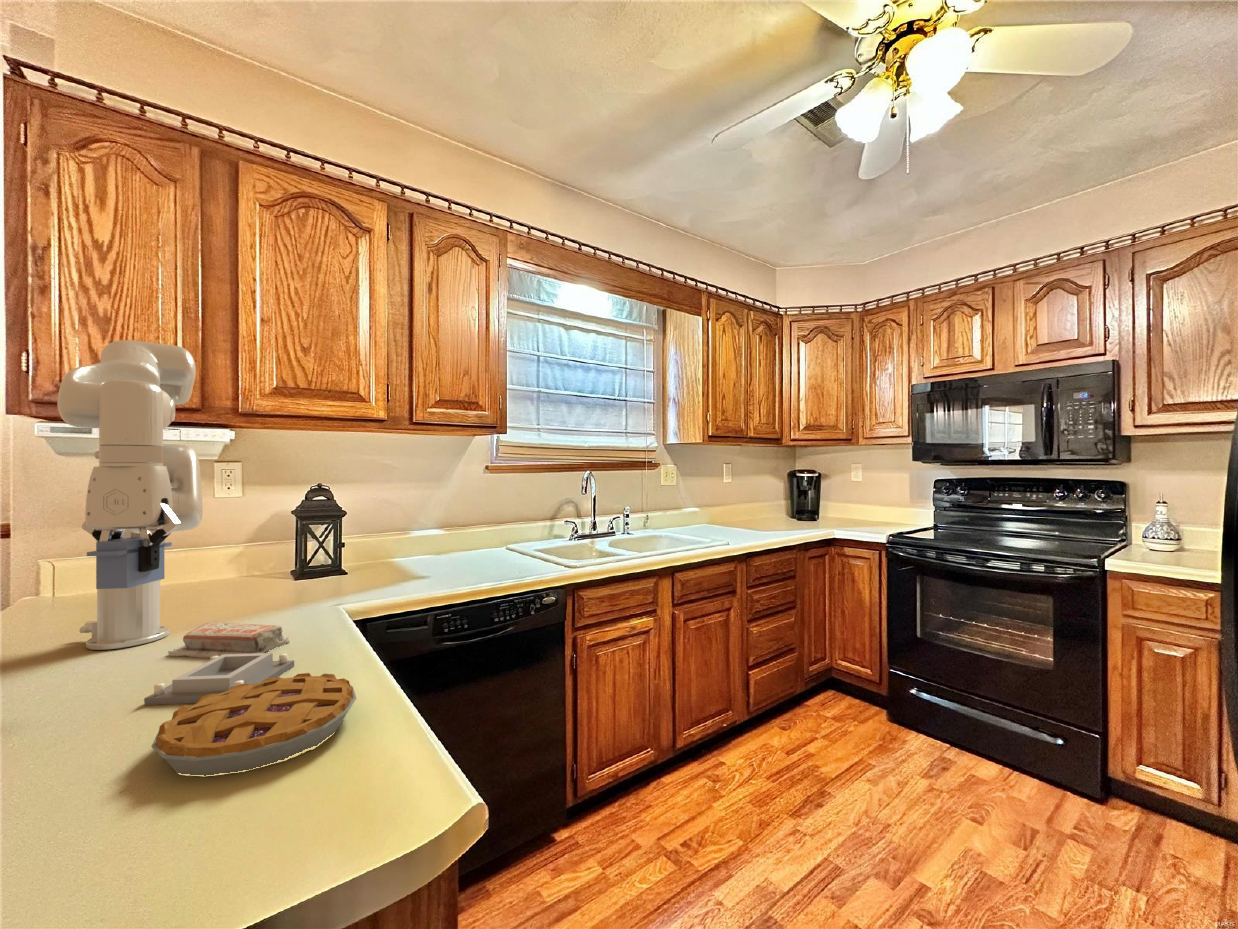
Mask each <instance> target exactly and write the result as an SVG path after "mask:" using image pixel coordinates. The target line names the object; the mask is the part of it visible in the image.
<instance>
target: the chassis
mask: <svg viewBox="0 0 1238 929" xmlns="http://www.w3.org/2000/svg"><path fill="white" fill-rule="evenodd" d="M273 655H274V654H273V652H267V653H252V654H223V655H221V656H212V657H210V658H209V661H207V662H205V663H203V664H201V665H199V666H197V667H195V668H193V669H191V670H189V671H187V672H185V673H183V674H181V675H179V676H177V677H175V678H173V679H172V681H171V682H172V683H171V684H169V685H165V683H164V682H161V683H160V682H159V683H156V684H154V685H153V689H154V690H153V693H152V694H150V695H148V696H146V697H144V699H143V700H144V701H143V702H144V706H153V705H176V704H179V705H180V704H181V705H183V704H196V703H197V701H198V699H199V697H201V696H205V695H209V694H220V693H223V692H226V691H228V690H230V688H231V687H232V686H236V685H240V684H244V683H245V684H248V685H250V684H255V683H260V682H262V681H264V680H266V679H270V678H276V677H278V676H279V677H280V676H282V675H283V674H285V673H286V672H287V671H289V670H290V668H291V667H292V668H294V667H295V660H288V653H281V654H279V655H278V660H273V659H274V658H273ZM292 668H291V669H292ZM285 671H286V672H285ZM284 672H285V673H284ZM281 674H282V675H281ZM165 686H166V687H165Z"/></svg>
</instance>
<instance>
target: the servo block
mask: <svg viewBox="0 0 1238 929" xmlns="http://www.w3.org/2000/svg"><path fill="white" fill-rule="evenodd" d="M95 547H96V548H95V550H93V551H86V557H95V558H96V560H95V562H96V563H95V564H96V565H95V567H96V568H95V571H96V572H95V573H96V574H95V579H96V580H95V581H96V582H95V586H96V589H95V590H97V589H117V588H130V587H134V586H138V585H142V584H146V583H149V582H153V581H157V580H160V581H161V580H165V548H167V547H173V542H171V541H169V542H166V541H164V543H163V544H160V561H159V568H158V569H155V570H150V571H146V572H140V571H139V547H143V544H142V541H141V537H140V533H139V532H137V533H131V537H129V538H122V539H115V540H108V541H101V542H96V541H95Z"/></svg>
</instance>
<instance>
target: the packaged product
mask: <svg viewBox="0 0 1238 929" xmlns="http://www.w3.org/2000/svg"><path fill="white" fill-rule="evenodd" d="M182 642H183V643H184V645H182V646H179V647H176V648H174V649H173V650H168V651H167V653H168V654H167V655H168V656H169V657H193V658H206V657H212V656H221V655H223V654H252V653H265V652H267V651H269V650H272V649H274V648H276V647H279V648H280V646H281V647H283V646H285V645H284V644H286V643H288V644H290V637H289V636H286V637H285V636H283V628H282V626H280V625H272V624H271V625H270V624H269V625H268V624H254V623H253V624H250V623H234V622H233V623H231V622H230V623H226V622H210V623H209V622H206V623H203V624H200V625H199V626H197V627H196V628H194V629H193V630H191V631H189V632H187V633H186V634H185V635H184V636H183V638H182ZM282 645H283V646H282ZM286 645H287V644H286ZM276 649H277V648H276ZM274 650H275V649H274ZM272 651H273V650H272ZM269 652H270V651H269ZM267 653H268V652H267Z"/></svg>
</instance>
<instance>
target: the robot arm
mask: <svg viewBox="0 0 1238 929" xmlns="http://www.w3.org/2000/svg"><path fill="white" fill-rule="evenodd" d="M99 360H100V361H99V362H97V363H92V364H86V365H82V366H78V367H76V368H73V369H71V370H69V371H68V372H67V373H66V374H65V375H64V376H63V378H62V380H61V383H60V386H59V390H58V395H57V402H56V403H57V404H56V405H57V410H58V415H59V416H60V417H61V419H62V420H63V421H64V423H66V424H67V425H69V426H72V427H76V428H81V429H83V428H84V429H98V444H99V446H98V450H96V451H95V452H94V454H93V455H94V458H95V459H97V460H98V466H93V468H92V469H91V470H92V471H91V472H90V473H91V474H90V477H89V481H88V485H87V492H86V500H85V513H84V515H85V517H84V518H85V520H84V521H83V523H82V524H81V529H82V530H83V531H85V532H87V533H88V534H90V535H91V537H93V538H94V539H95V543H96V542H101V541H108V540H115V539H122V538H129V537H131V533H137V532H139V533H140V537H141V541H142V544H143V547H139V571H140V572H146V571H150V570H155V569H158V568H159V561H160V544H163V543H164V542H165V540H166V539H167V538H168V537H169V536H170V535H171V533H173V532H181V531H183V532H184V531H190V530H194V529H196V528H197V527H198V526H199V525H200V524H201V522H202V518H203V515H204V514H203V511H204V510H203V508H204V507H203V506H204V505H203V494H202V492H203V491H202V477H201V476H202V475H201V466H200V459H199V456H198V452H196V450H195V449H194V448H193V447H191V446H189V445H186V444H180V443H179V444H178V443H164V429H165V428H167V427H169V426H170V425H171V423H172V422H174V421H175V417H176V406H179V405H185V404H186V403H188V402H189V400H190V399H191V396H192V394H193V388H194V384H195V380H196V374H197V373H196V372H197V368H196V362H195V359H194V357H193V354H191V353H190V352H189V350H187V349H186V348H184V347H183V346H179V345H172V344H165V343H155V342H150V341H149V342H148V341H141V340H132V339H131V340H130V339H122V340H121V339H120V340H114V341H112V342H110V343H108V344H106V345H105V346H104V347H103V349H102V350H101V353H100V359H99ZM170 631H171V630H170V627H169V626H165V625H161V580H157V581H153V582H149V583H146V584H142V585H138V586H134V587H130V588H117V589H96V620H92V621H89V620H88V621H86V622H85V624H84V625H83V626H81V627H80V628H79V631H78V632H79V633H81V634H87V633H88V634H90V633H91V638H89V639H88V640H87V641H86V642H85V647H86V648H87V649H89V650H92V651H93V650H97V651H101V650H102V651H105V650H107V651H108V650H115V649H116V650H117V649H123V648H129V647H130V648H131V647H134V646H139V645H144V644H148V643H152V642H154V641H155V642H156V641H158V640H161V639H164V638H165V637H167V636H168V635H169V634H170Z"/></svg>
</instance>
